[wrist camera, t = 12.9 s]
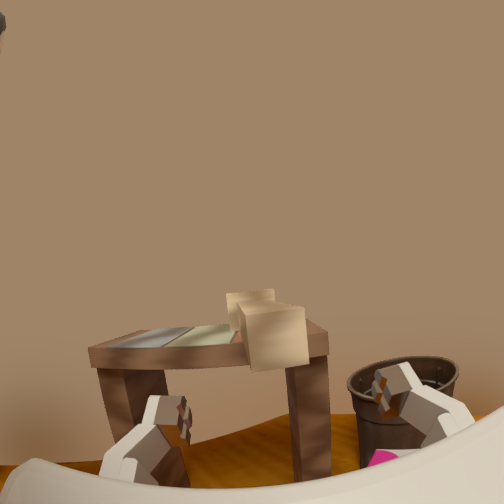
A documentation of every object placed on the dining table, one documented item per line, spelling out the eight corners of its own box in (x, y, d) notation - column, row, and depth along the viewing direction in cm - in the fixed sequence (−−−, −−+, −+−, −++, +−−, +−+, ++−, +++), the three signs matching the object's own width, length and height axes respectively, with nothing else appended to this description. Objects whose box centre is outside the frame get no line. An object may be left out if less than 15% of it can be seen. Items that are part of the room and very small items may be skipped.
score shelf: (148, 534, 20) (87, 346, 23) (173, 480, 34) (140, 329, 37) (330, 531, 20) (327, 330, 23) (313, 474, 34) (302, 315, 37)
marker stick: (232, 374, 14) (222, 297, 14) (230, 326, 34) (226, 293, 35) (327, 360, 14) (320, 285, 15) (271, 321, 35) (267, 289, 35)
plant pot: (415, 506, 20) (434, 404, 22) (325, 475, 33) (322, 386, 35) (460, 444, 29) (471, 355, 31) (383, 431, 42) (384, 354, 44)
